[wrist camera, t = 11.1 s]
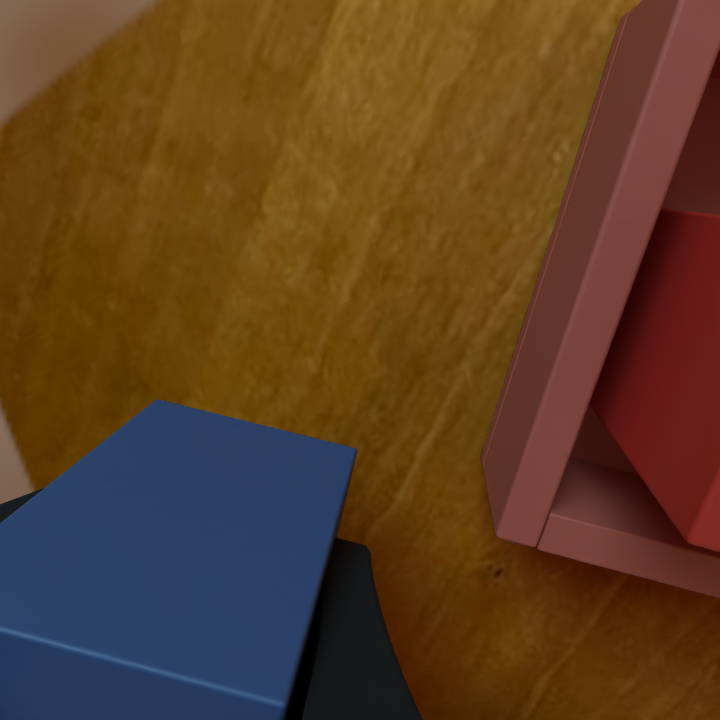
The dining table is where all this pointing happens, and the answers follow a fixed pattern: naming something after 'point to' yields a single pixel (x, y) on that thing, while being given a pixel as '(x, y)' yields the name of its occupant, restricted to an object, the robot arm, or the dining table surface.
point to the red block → (671, 374)
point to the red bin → (608, 305)
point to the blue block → (170, 573)
